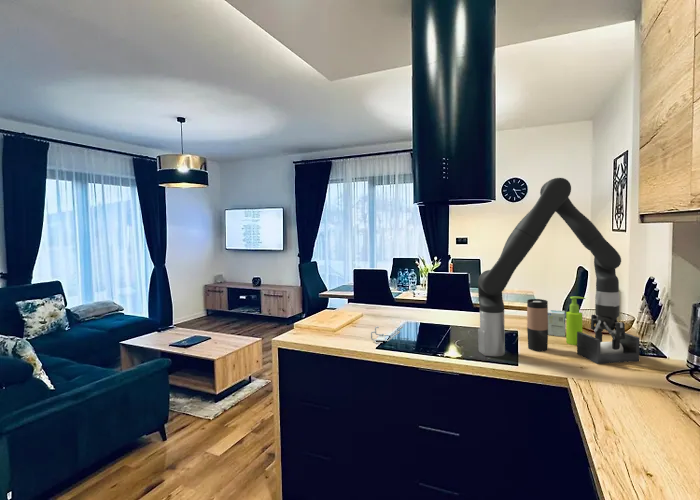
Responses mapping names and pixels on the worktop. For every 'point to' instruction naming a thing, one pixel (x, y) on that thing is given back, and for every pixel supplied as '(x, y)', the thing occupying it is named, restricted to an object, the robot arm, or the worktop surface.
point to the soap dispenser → (573, 321)
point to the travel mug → (537, 324)
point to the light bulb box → (556, 323)
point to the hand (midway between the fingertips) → (607, 345)
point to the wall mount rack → (384, 337)
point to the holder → (591, 351)
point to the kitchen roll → (609, 348)
